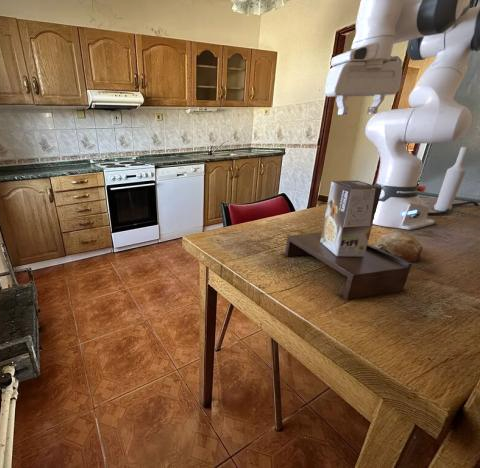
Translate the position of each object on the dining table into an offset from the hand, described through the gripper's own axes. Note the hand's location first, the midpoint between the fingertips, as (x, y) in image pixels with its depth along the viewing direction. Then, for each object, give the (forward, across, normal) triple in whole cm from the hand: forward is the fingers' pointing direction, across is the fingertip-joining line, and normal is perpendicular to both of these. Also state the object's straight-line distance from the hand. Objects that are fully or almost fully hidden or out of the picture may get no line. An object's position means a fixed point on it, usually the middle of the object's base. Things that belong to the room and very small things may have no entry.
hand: (357, 114), depth 71 cm
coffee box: (+31, +15, +19) cm, 39 cm away
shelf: (+37, +15, +19) cm, 44 cm away
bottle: (+37, -65, -14) cm, 76 cm away
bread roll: (+37, -8, +15) cm, 41 cm away
